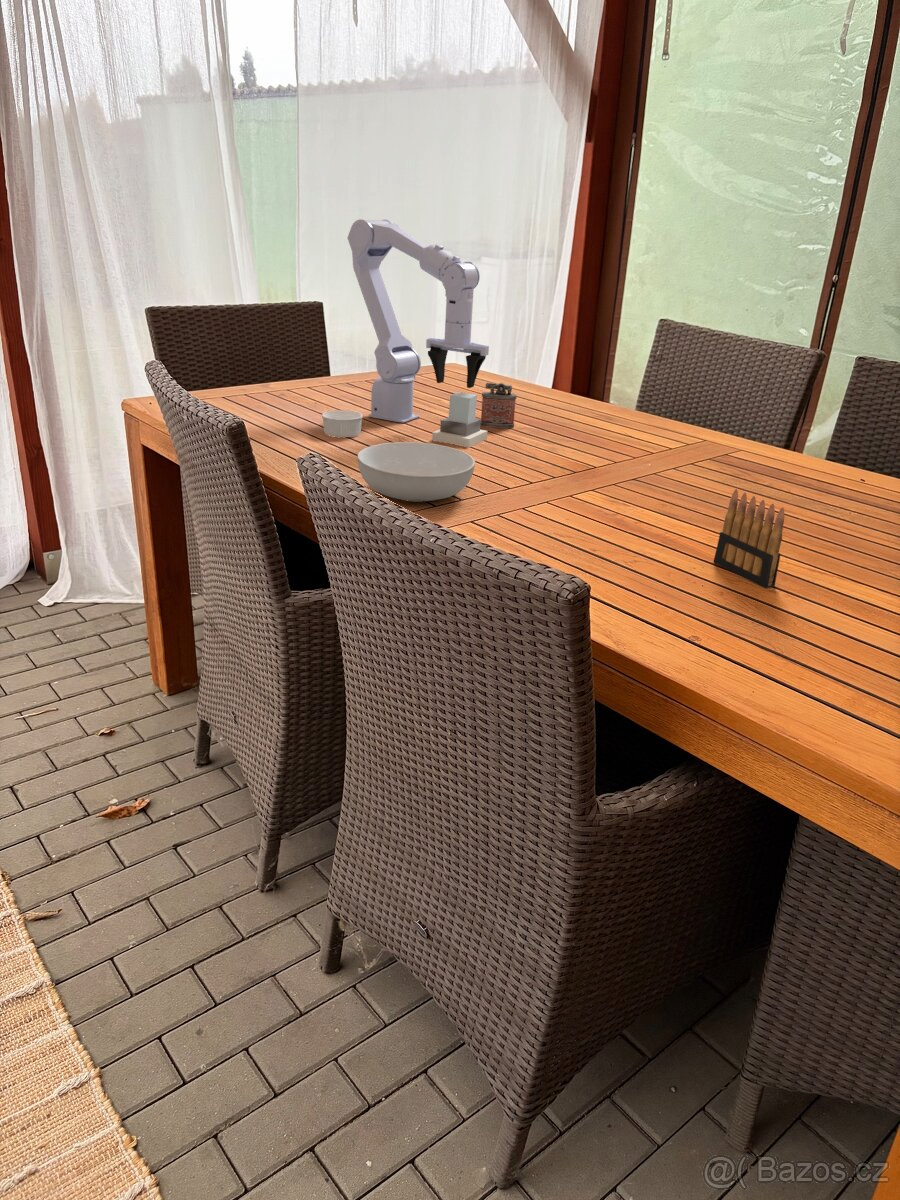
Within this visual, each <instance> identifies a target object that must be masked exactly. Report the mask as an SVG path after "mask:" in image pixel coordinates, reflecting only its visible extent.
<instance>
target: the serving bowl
mask: <svg viewBox="0 0 900 1200" xmlns="http://www.w3.org/2000/svg"><path fill="white" fill-rule="evenodd" d="M356 457H357V459H356V460H357V465H358V466H357V467H358V469H359V470H358V471H359V472H360V475H361V477H362V479H363V480H364V482H365V483H366V484H367V485H368V487H370V488H371V489H372V490H374V491H375V492H377V493H379V494H382V495H384V496H386V497H389V498H391V499H392V498H393V499H397V500H400V499H401V501H405V500H408V501H407V502H412V501H417V502H418V503H420V502H421V503H422V502H423V501H424V502H431V501H438V500H439V501H440V500H444V499H447V498H451V497H452V496H455V495H457V494H458V493H460V492H461V491H462V490H464V489H465V488H466V486H468V485H469V482H470V481H471V479H472V477H473V474H474V472H475V471H474V470H475V467H476V466H475V465H476V460H475V459H474V458H473V456H471V455H470V454H469V453H467V452H465V451H463V450H460V449H458V448H454V447H451V446H446V445H441V444H436V443H428V442H420V441H419V442H417V441H400V442H399V441H398V442H384V443H379V444H375V445H369V446H367V447H365V448H362V449H361V450H360V451H359V452H358V453H357V456H356Z"/></svg>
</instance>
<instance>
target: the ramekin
mask: <svg viewBox="0 0 900 1200" xmlns="http://www.w3.org/2000/svg"><path fill="white" fill-rule="evenodd" d="M321 417H322V422H323V423H322V425H323V432H324V434H325V435H326V434H327V435H326V436H328V435H330V436H329V437H331V436H335V437H334V438H336V437H351V438H355V437H354V436H356V437H358V436H359V435H360V434H361V433H362V431H361V430H362V420H363V414H362V413H361V412H358V411H353V410H343V409H342V410H341V409H339V410H337V409H336V410H328V411H325V412H322V413H321Z"/></svg>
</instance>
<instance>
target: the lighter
mask: <svg viewBox="0 0 900 1200" xmlns="http://www.w3.org/2000/svg"><path fill="white" fill-rule="evenodd" d="M484 387H485V389H489V390H490V391H482V393H481V397H482V399H481V401H482V402H481V415H480V416H481V417H480V419H481V423H480V427H481V426H482V427H486V428H487V427H489V428H498V429H500V428H501V429H513V428H515V422H514V421H515V413H516V412H515V411H516V410H515V409H516V401H517V400H516V399H517V398H518V397H517V394H515V393H512V390H513V385H512V384H506V383H504V382H499V383H496V382H486V383H485V386H484ZM495 390H496V391H495Z"/></svg>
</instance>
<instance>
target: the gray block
mask: <svg viewBox="0 0 900 1200" xmlns="http://www.w3.org/2000/svg"><path fill="white" fill-rule="evenodd" d="M477 397H478V394H474V393H467V392H460V391H457V392H455V393H452V394H450V395H449V406H448V409H449V411H448V417H449V420H448V421H453V422H459V423H465V424H468V423H470V422H472V421H474V420H475V419H476V414H477V413H476V412H477V411H476V410H477V403H478V402H477V400H478V399H477Z"/></svg>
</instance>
